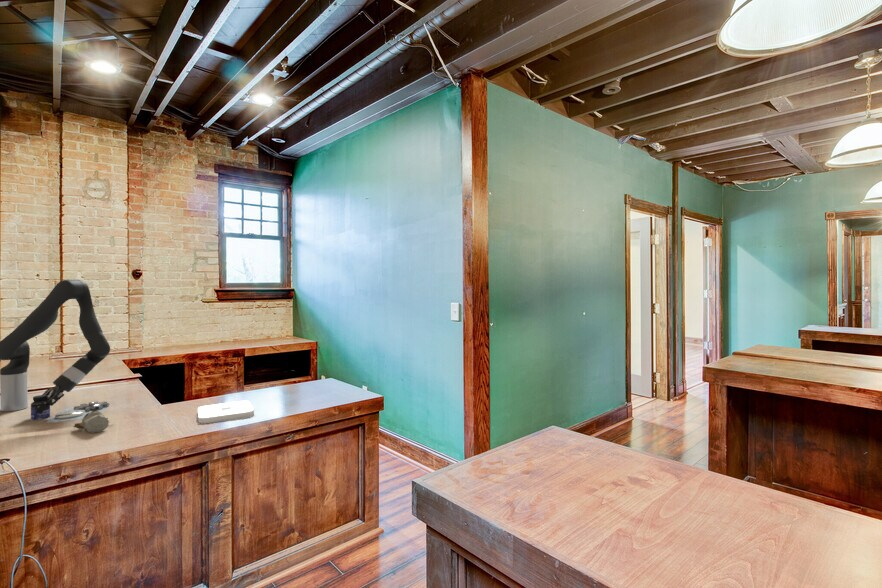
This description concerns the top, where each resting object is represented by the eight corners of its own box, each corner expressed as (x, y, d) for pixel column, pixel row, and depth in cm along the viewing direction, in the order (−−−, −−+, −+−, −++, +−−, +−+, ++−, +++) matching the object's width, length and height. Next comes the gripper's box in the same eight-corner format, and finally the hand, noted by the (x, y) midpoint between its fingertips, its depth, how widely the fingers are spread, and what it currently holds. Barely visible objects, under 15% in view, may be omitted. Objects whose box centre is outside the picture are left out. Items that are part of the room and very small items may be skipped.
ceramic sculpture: (81, 414, 166) (72, 410, 175) (82, 437, 165) (72, 431, 175) (115, 408, 174) (104, 404, 183) (115, 430, 174) (105, 425, 183)
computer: (254, 416, 192) (254, 410, 192) (198, 425, 181) (198, 418, 181) (248, 405, 211) (248, 400, 211) (197, 412, 200) (197, 406, 200)
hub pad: (59, 414, 191) (59, 411, 191) (88, 411, 196) (88, 408, 196) (51, 420, 182) (51, 417, 182) (81, 417, 187) (81, 414, 187)
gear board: (65, 411, 200) (65, 408, 200) (110, 407, 208) (110, 404, 208) (45, 426, 179) (45, 422, 179) (96, 420, 186) (96, 417, 186)
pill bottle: (38, 424, 182) (37, 398, 182) (27, 423, 183) (26, 397, 183) (54, 419, 188) (53, 394, 188) (43, 418, 189) (42, 394, 189)
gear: (78, 406, 203) (78, 400, 203) (111, 403, 209) (111, 397, 209) (69, 413, 192) (69, 407, 192) (104, 409, 198) (104, 404, 198)
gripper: (56, 372, 196) (21, 404, 186) (67, 375, 188) (31, 409, 178) (71, 381, 200) (38, 413, 190) (83, 385, 192) (48, 418, 182)
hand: (35, 411), depth 184 cm, fingers closed on pill bottle, 6 cm apart
